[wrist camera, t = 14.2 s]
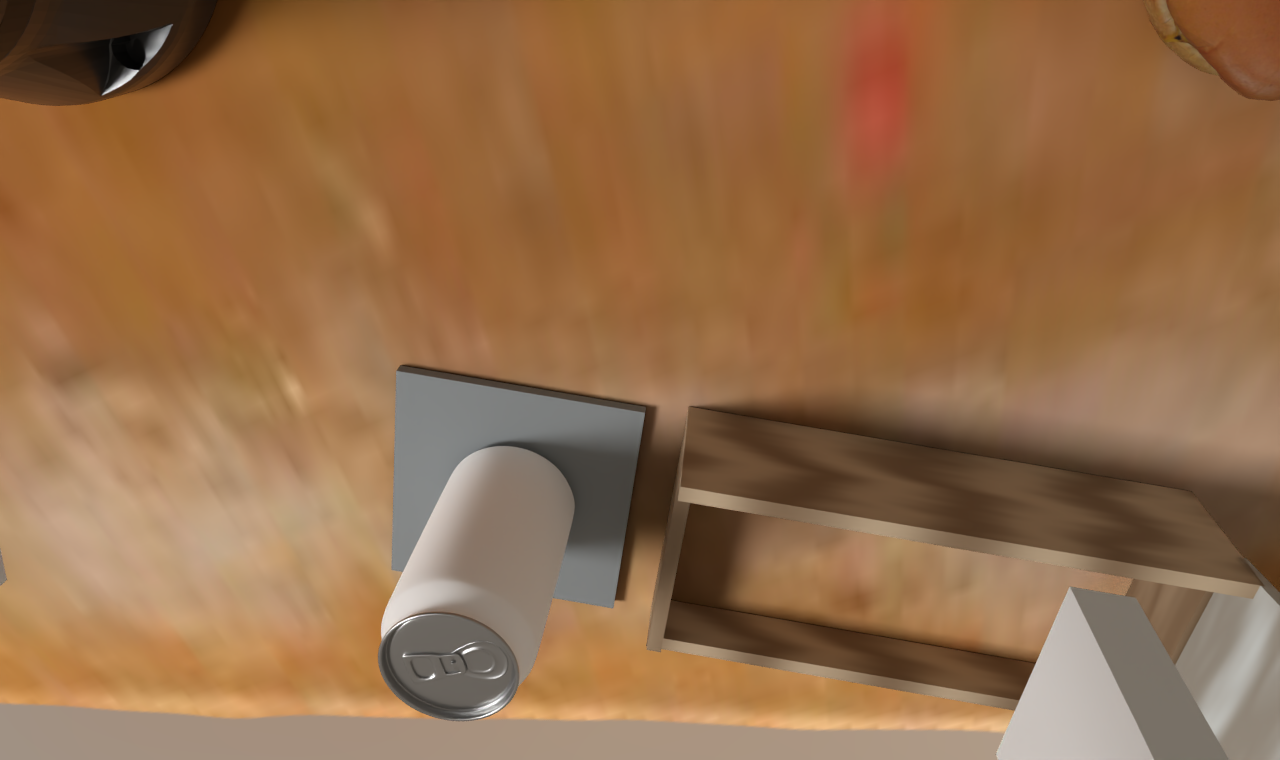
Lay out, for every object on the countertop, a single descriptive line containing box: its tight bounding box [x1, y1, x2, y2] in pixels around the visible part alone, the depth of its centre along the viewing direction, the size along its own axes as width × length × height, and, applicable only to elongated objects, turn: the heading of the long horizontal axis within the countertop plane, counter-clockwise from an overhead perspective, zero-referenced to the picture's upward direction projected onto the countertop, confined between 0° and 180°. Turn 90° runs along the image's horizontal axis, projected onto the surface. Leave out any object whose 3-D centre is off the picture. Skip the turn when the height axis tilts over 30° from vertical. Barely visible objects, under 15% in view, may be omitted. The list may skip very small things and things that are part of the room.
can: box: [378, 446, 575, 721], centre depth 42 cm, size 6×6×12 cm
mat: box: [392, 365, 646, 608], centre depth 48 cm, size 12×12×1 cm
